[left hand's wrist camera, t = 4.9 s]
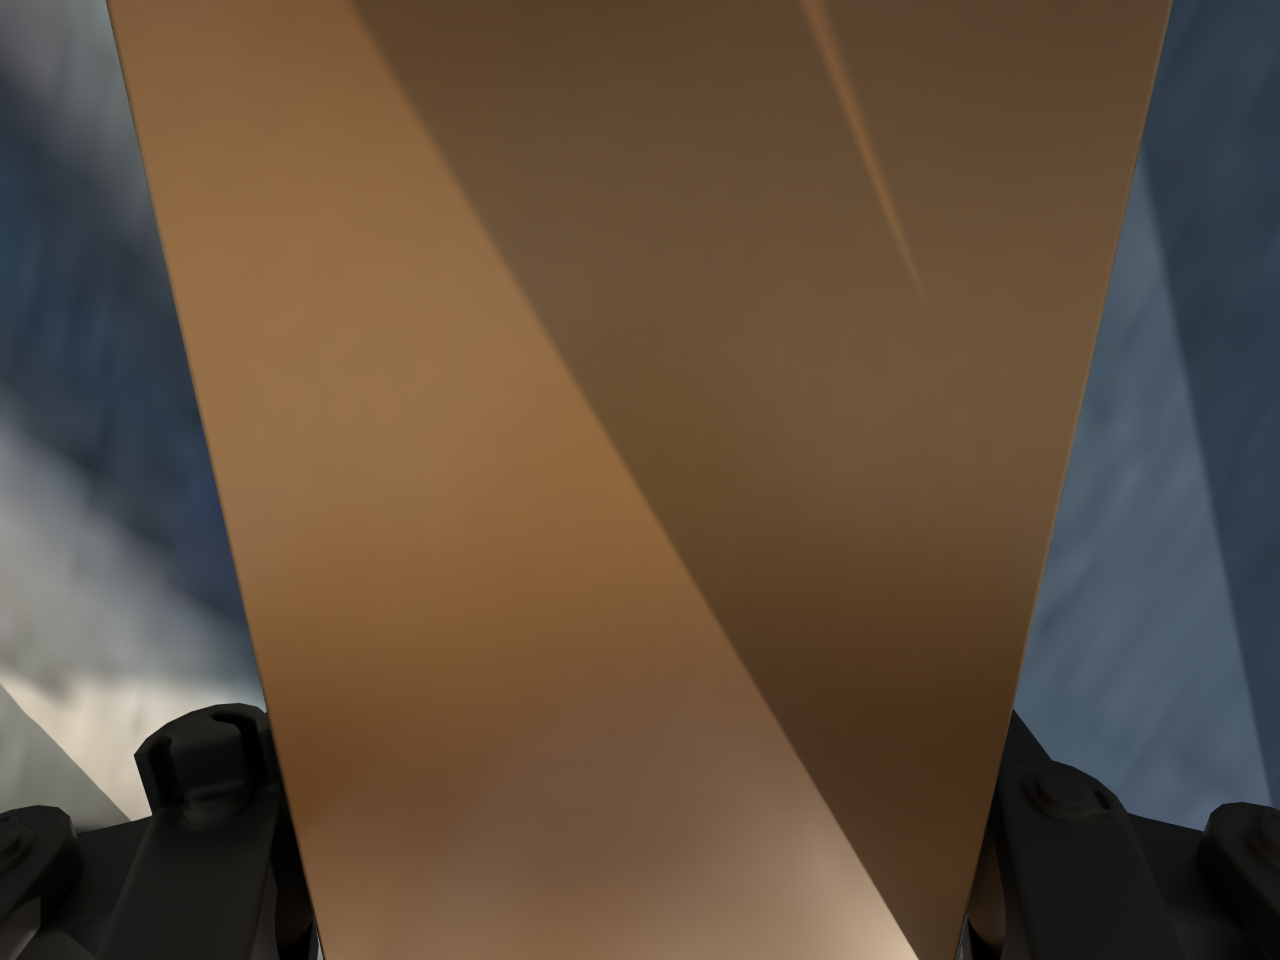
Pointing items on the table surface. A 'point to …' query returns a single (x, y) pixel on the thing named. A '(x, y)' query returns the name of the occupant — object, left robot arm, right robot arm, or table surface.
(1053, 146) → the box
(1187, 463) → the table surface
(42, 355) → the table surface
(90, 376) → the table surface
